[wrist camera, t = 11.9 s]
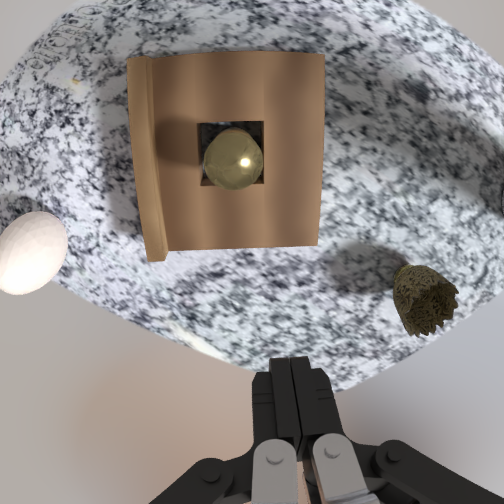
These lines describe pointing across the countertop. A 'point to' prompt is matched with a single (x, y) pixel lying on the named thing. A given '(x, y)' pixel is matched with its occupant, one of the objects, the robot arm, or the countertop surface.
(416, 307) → the cup
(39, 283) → the egg
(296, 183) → the jig
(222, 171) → the brass cylinder peg
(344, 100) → the countertop surface
